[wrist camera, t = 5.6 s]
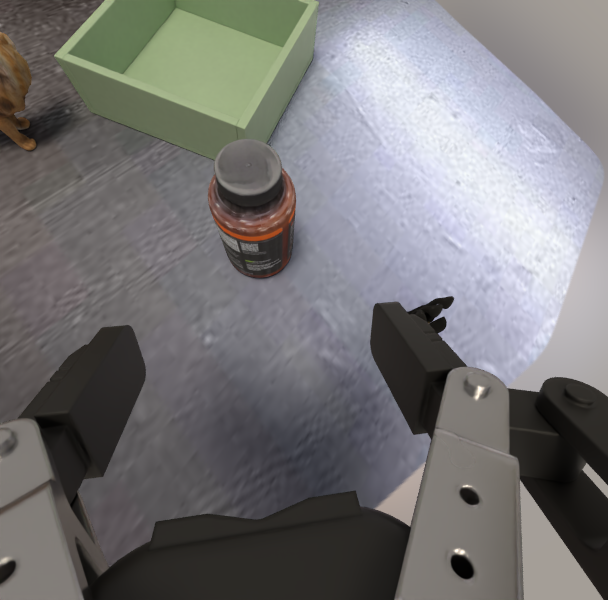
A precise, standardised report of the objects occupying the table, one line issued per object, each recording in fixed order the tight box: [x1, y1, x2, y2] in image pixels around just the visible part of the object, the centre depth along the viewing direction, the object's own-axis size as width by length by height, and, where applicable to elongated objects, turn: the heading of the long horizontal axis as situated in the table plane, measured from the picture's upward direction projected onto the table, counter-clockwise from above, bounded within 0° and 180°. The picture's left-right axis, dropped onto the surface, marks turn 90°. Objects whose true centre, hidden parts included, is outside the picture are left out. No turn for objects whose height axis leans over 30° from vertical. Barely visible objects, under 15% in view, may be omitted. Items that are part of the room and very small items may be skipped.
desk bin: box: [54, 0, 319, 160], centre depth 32 cm, size 18×18×6 cm
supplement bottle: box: [208, 139, 296, 278], centre depth 24 cm, size 6×6×11 cm
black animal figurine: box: [407, 296, 454, 333], centre depth 26 cm, size 7×2×5 cm, turn 115°
